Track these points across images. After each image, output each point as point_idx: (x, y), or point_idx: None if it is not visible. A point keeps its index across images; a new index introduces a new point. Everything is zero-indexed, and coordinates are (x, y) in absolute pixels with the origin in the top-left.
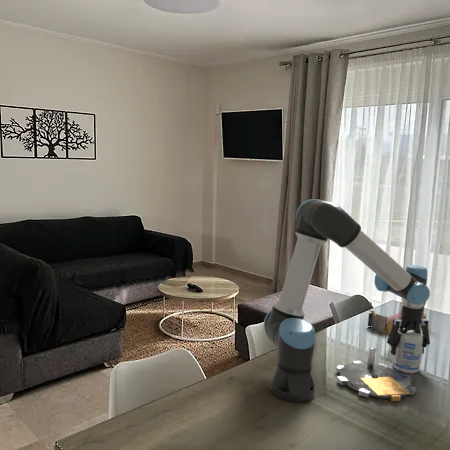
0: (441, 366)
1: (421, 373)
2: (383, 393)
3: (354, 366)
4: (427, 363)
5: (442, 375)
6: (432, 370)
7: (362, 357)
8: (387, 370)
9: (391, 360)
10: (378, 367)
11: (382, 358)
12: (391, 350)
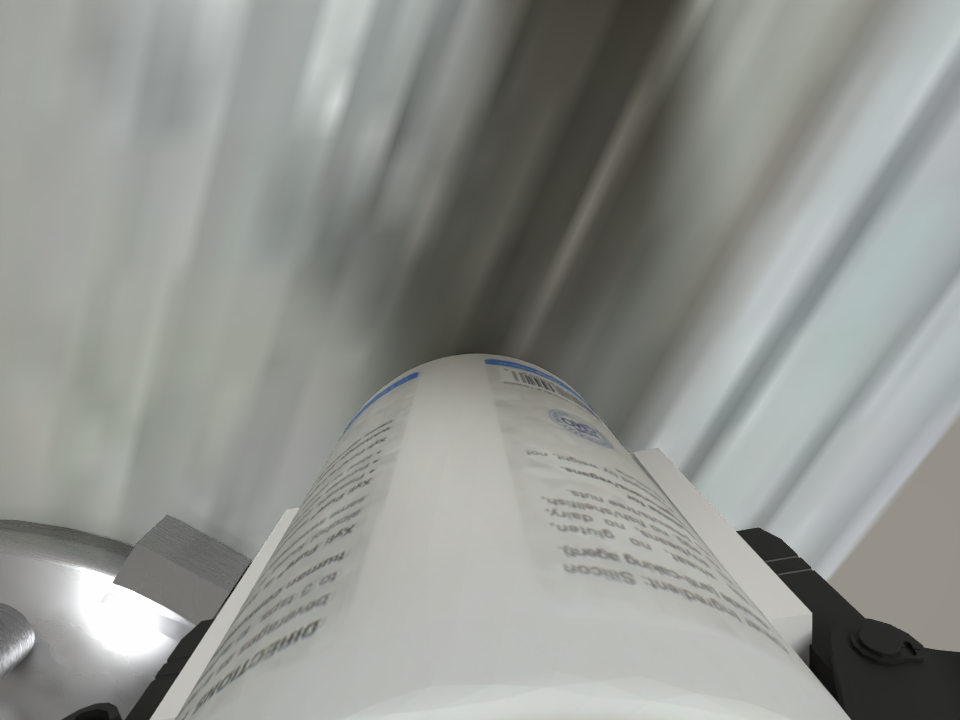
0: (937, 384)
1: None
2: None
3: None
4: (821, 318)
5: None
6: (762, 490)
7: (15, 215)
8: None
9: (284, 514)
10: (90, 646)
11: (291, 222)
12: (164, 686)
